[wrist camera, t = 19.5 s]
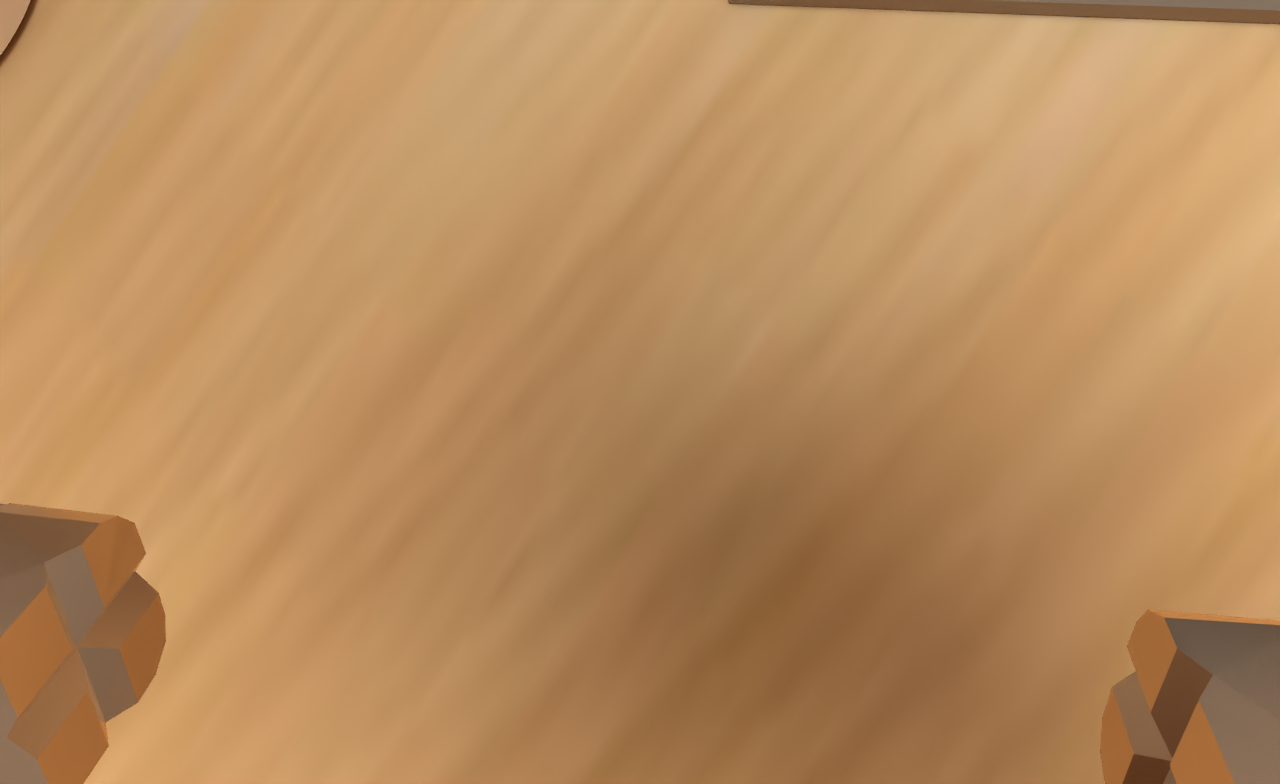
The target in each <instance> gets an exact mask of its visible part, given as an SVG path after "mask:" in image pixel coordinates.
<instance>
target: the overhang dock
mask: <svg viewBox="0 0 1280 784" xmlns="http://www.w3.org/2000/svg"><path fill="white" fill-rule="evenodd" d="M728 1H729V3H733V4H760V5H787V6H814V7H841V8H868V9H895V10H922V11H949V12H976V13H1003V14H1030V15H1057V16H1084V17H1111V18H1138V19H1165V20H1192V21H1219V22H1246V23H1273V24H1280V0H728Z"/></svg>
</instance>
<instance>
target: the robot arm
mask: <svg viewBox="0 0 1280 784" xmlns="http://www.w3.org/2000/svg"><path fill="white" fill-rule="evenodd" d="M30 1H31V0H0V55H1V54H2V52H3V51H4V50H5V48H6V47H7V45H8V44H9V42H10V41H11V39H12V37H13V35H14V34H15V32H16V30H17V29H18V27H19V25H20V23H21V21H22V19H23V17H24V15H25V13H26V10H27V8H28V5H29V3H30ZM145 554H146V552H145V549H144V547H143V544H142V541H141V539H140V536H139V533H138V531H137V528H136V525H135V523H133V522H131V521H129V520H126V519H124V518H122V517H119V516H115V515H106V514H98V513H89V512H80V511H72V510H63V509H55V508H46V507H37V506H29V505H20V504H12V503H9V504H7V505H6V504H0V784H83V783H84V782H85V780H86V779H87V778H88V776H89V775H90V773H91V772H92V770H93V769H94V767H95V766H96V764H97V763H98V761H99V760H100V758H101V757H102V755H103V754H104V752H105V751H106V749H107V748H108V746H109V744H108V736H107V728H106V722H107V721H109V720H110V719H112V718H113V717H115V716H117V715H118V714H120V713H122V712H123V711H125V710H126V709H128V708H130V707H131V706H133V705H135V704H136V703H138V702H139V700H140V698H141V697H142V695H143V694H144V692H145V691H146V689H147V687H148V686H149V684H150V683H151V681H152V680H153V678H154V676H155V675H156V672H157V669H158V665H159V662H160V658H161V655H162V652H163V648H164V645H165V641H166V633H165V613H164V609H163V606H162V603H161V599H160V596H159V593H158V592H157V591H156V590H155V589H154V588H153V587H151V586H150V585H149V584H148V583H147V582H146V581H145V580H144V579H143V578H142V577H141V576H140V575H139V574H137V573H136V572H135V571H136V569H137V568H138V566H139V564H140V563H141V561H142V559H143V558H144V556H145ZM1127 647H1128V650H1129V653H1130V656H1131V659H1132V661H1133V664H1134V667H1135V670H1136V672H1134V673H1133V674H1131V675H1130V676H1128V677H1127V678H1125V679H1123V680H1122V681H1120V682H1119V683H1117V684H1116V685H1114V686H1113V687H1112V689H1111V692H1110V695H1109V698H1108V702H1107V705H1106V708H1105V711H1104V714H1103V717H1102V734H1101V751H1100V752H1101V759H1102V767H1103V774H1104V780H1105V784H1280V621H1277V620H1265V619H1253V618H1242V617H1230V616H1218V615H1206V614H1194V613H1182V612H1170V611H1158V610H1147V611H1146V612H1145V613H1144V614H1143V616H1142V617H1141V618H1140V619H1139V620H1138V621H1137V622H1136V625H1135V627H1134V630H1133V632H1132V635H1131V637H1130V640H1129V643H1128V645H1127Z"/></svg>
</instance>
